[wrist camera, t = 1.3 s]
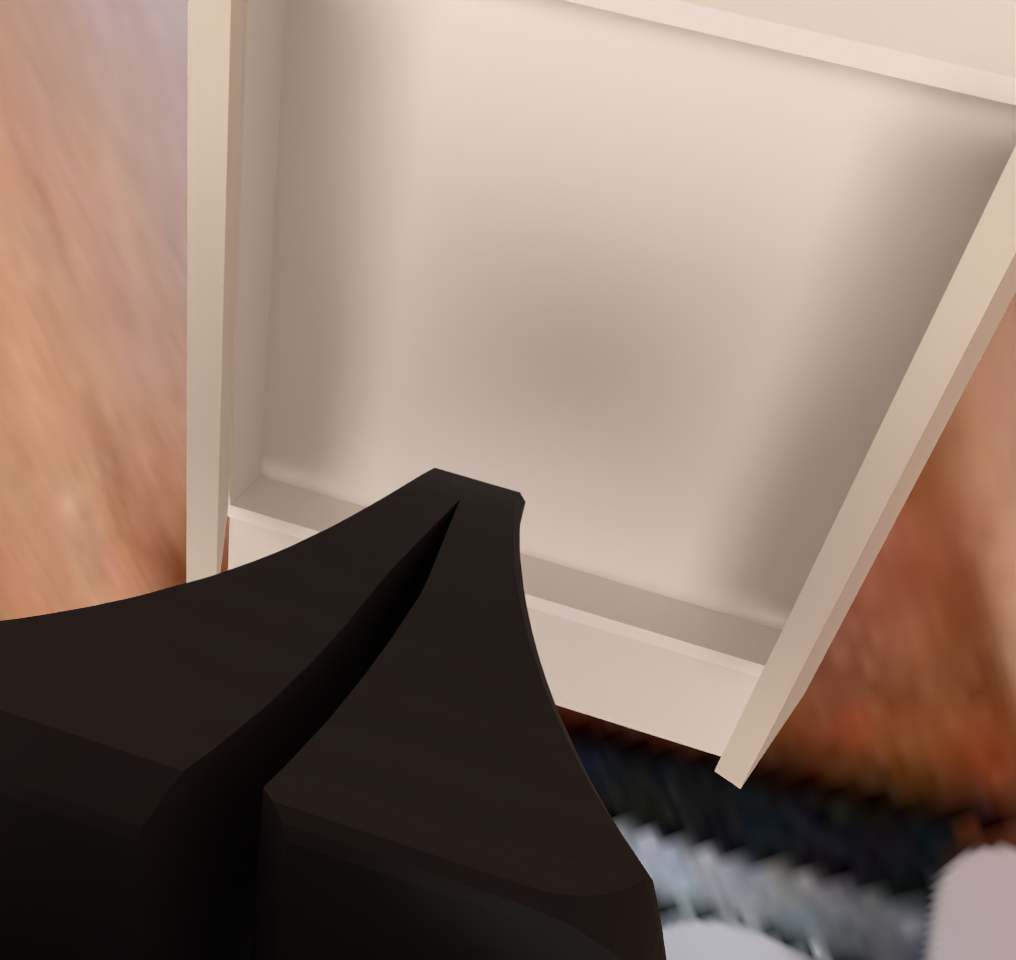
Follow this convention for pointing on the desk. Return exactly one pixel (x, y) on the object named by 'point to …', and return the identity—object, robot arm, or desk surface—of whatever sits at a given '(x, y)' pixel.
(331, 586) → the robot arm
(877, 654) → the desk surface
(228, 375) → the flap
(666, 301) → the carton
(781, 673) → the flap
